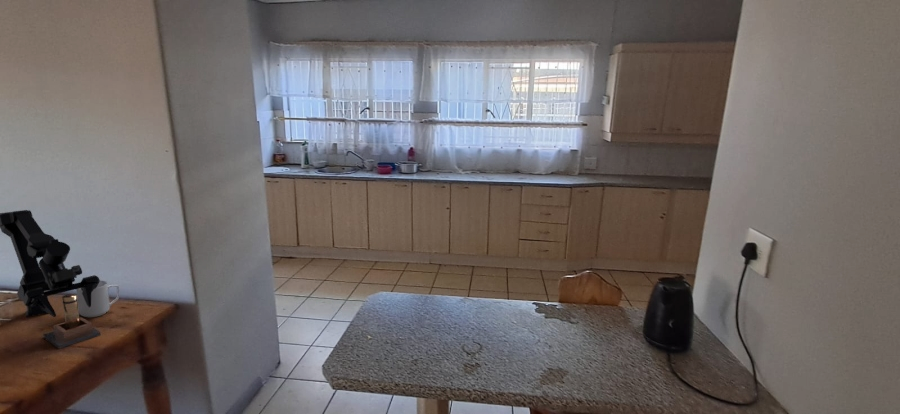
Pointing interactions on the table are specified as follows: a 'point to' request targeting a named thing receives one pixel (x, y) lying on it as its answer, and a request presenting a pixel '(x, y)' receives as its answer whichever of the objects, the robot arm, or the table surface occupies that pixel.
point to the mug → (96, 300)
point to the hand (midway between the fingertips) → (73, 311)
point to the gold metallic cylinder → (71, 311)
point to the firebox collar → (71, 334)
